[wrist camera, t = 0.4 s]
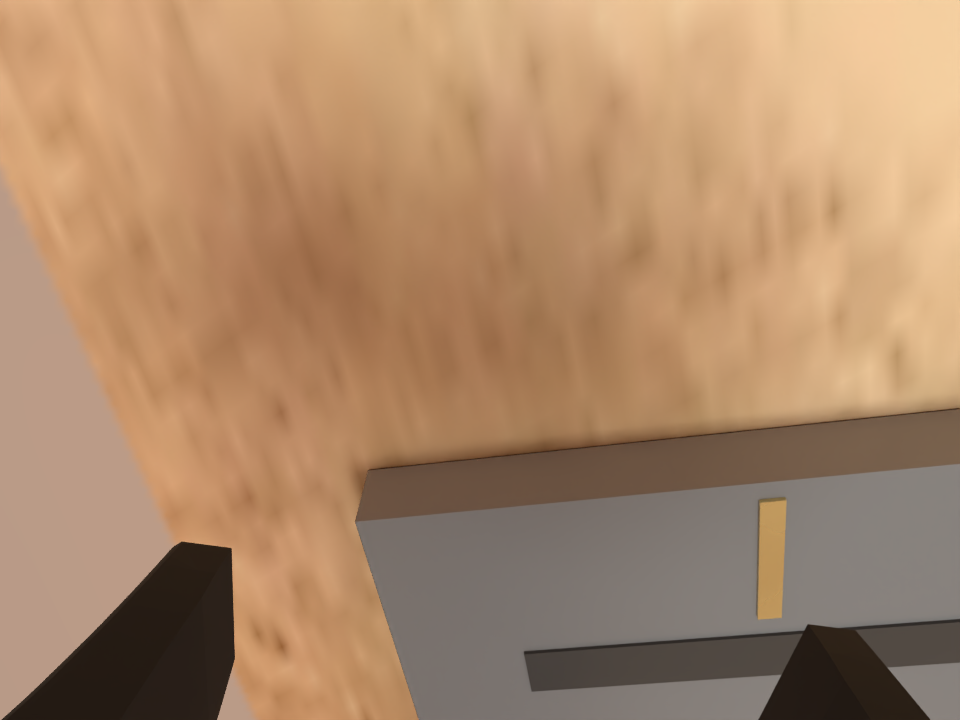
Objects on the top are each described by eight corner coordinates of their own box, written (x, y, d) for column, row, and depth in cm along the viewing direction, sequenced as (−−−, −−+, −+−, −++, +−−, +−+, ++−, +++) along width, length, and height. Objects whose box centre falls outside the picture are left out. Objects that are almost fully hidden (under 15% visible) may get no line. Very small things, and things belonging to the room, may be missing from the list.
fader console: (1285, 690, 24) (1346, 756, 23) (449, 742, 28) (444, 802, 26) (1467, 356, 18) (1570, 409, 17) (368, 470, 21) (354, 525, 20)
